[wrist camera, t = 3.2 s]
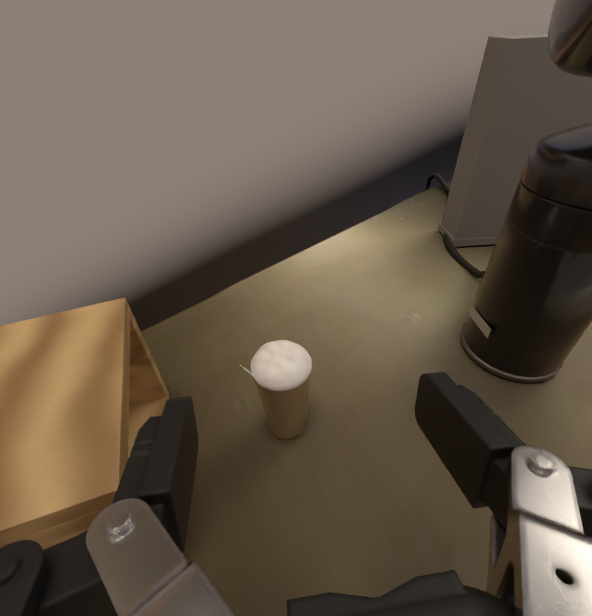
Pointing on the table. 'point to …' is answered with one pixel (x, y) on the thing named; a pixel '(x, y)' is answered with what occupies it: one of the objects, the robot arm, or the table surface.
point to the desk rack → (70, 417)
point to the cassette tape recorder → (508, 131)
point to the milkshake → (283, 385)
